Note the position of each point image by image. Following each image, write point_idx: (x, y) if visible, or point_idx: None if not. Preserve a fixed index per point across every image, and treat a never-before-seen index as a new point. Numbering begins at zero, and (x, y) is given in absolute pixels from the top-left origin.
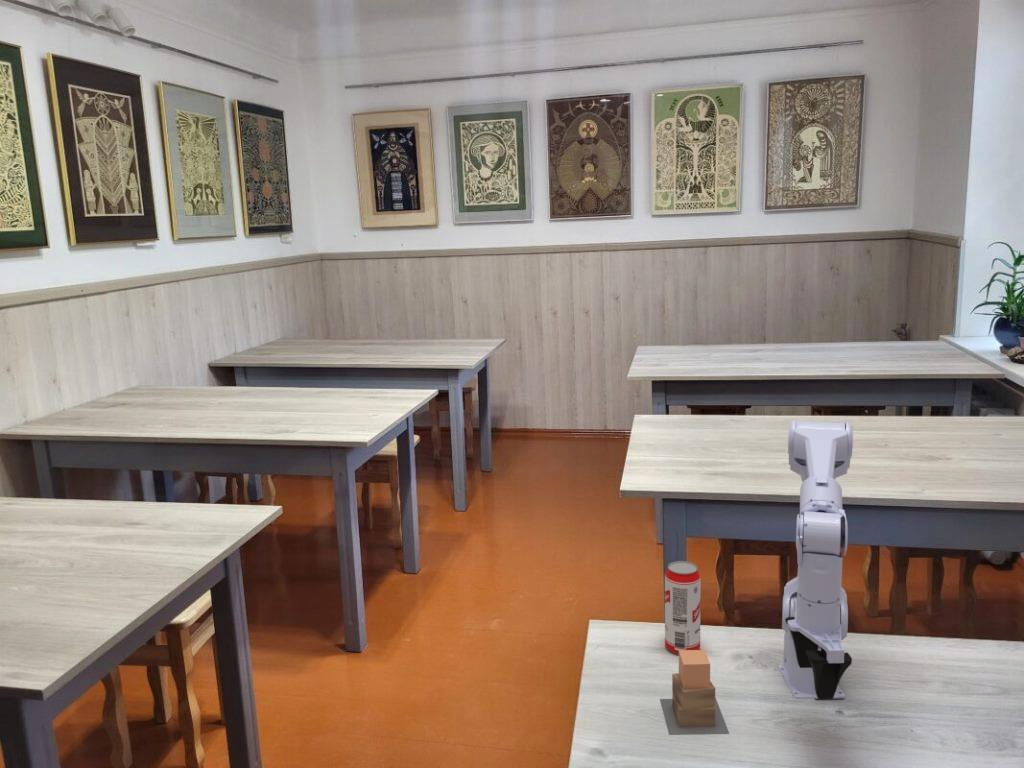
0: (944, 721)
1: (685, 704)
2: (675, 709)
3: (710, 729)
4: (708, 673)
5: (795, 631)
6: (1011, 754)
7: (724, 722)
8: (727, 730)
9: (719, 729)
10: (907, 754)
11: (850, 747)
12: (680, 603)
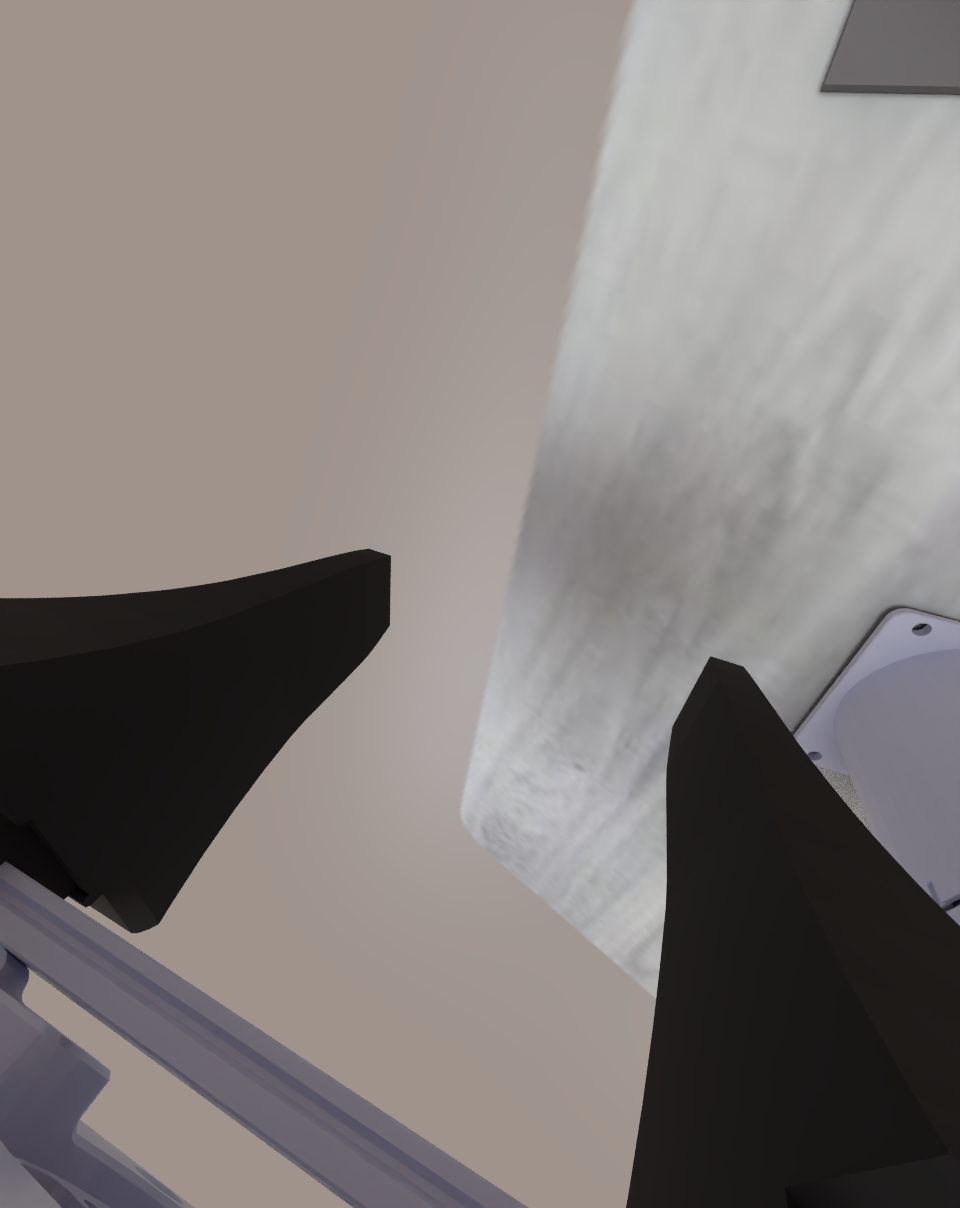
0: (586, 835)
1: None
2: None
3: None
4: None
5: (811, 1022)
6: (469, 830)
7: (955, 81)
8: (860, 79)
9: (904, 4)
10: (502, 699)
11: (559, 602)
12: None
